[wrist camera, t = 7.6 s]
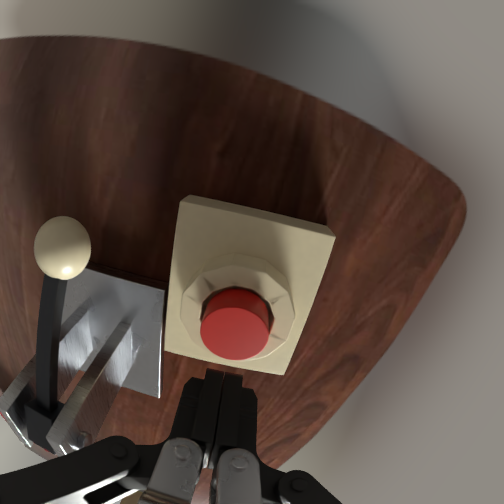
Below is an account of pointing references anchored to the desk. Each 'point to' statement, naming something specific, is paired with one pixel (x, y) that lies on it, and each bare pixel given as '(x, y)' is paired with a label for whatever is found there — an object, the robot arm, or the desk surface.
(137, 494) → the cream tin can
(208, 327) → the button
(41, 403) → the lever
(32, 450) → the desk surface
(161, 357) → the bracket
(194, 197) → the control block
